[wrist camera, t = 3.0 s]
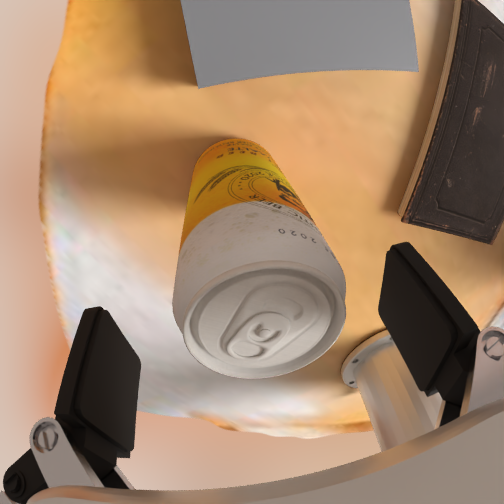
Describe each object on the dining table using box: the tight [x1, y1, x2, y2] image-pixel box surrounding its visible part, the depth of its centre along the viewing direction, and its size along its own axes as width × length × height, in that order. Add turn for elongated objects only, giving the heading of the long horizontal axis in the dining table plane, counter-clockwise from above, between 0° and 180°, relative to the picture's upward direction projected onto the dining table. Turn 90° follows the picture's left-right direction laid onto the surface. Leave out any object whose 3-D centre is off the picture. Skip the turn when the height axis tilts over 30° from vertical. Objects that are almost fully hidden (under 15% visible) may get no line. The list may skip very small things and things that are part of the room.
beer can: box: [172, 138, 346, 379], centre depth 16 cm, size 6×6×15 cm
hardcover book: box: [398, 0, 504, 245], centre depth 20 cm, size 16×23×2 cm
